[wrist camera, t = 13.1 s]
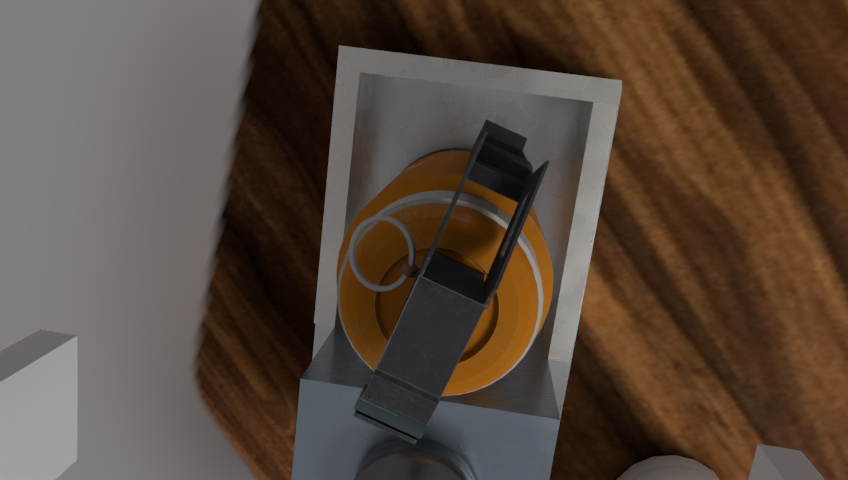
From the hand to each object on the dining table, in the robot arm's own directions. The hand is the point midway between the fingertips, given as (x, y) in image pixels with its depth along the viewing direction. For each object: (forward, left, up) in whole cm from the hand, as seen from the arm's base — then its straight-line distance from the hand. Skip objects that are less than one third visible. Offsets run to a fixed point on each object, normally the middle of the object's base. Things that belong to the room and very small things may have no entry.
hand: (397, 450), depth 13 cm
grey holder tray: (+5, 0, -29) cm, 29 cm away
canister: (0, 0, -28) cm, 28 cm away
